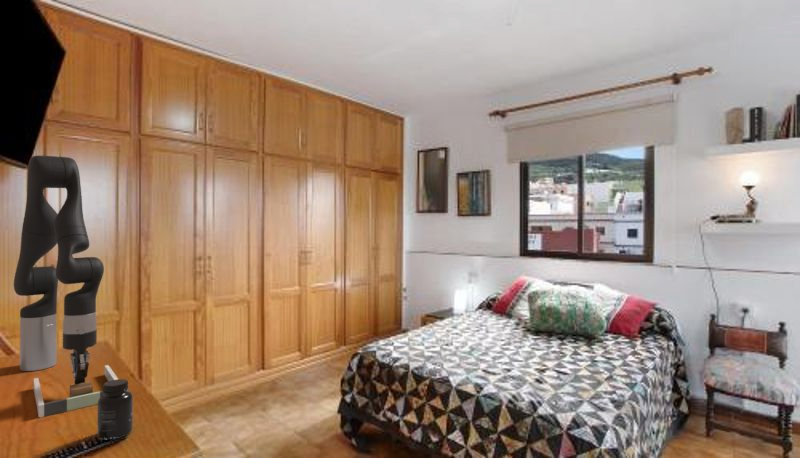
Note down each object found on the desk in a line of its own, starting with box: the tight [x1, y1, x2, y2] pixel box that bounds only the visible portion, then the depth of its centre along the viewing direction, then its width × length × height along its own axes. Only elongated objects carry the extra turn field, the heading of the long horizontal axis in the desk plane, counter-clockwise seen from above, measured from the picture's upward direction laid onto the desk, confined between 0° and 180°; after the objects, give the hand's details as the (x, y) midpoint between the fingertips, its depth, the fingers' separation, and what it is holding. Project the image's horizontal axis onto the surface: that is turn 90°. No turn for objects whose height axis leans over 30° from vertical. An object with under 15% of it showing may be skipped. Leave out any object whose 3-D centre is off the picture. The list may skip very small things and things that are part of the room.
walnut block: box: [69, 381, 94, 398], centre depth 114 cm, size 4×4×4 cm
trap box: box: [33, 364, 119, 418], centre depth 120 cm, size 24×18×3 cm
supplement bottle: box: [96, 378, 134, 439], centre depth 97 cm, size 7×7×12 cm
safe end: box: [66, 391, 100, 412], centre depth 111 cm, size 1×7×3 cm, turn 133°
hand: (79, 391), depth 117 cm, fingers closed
